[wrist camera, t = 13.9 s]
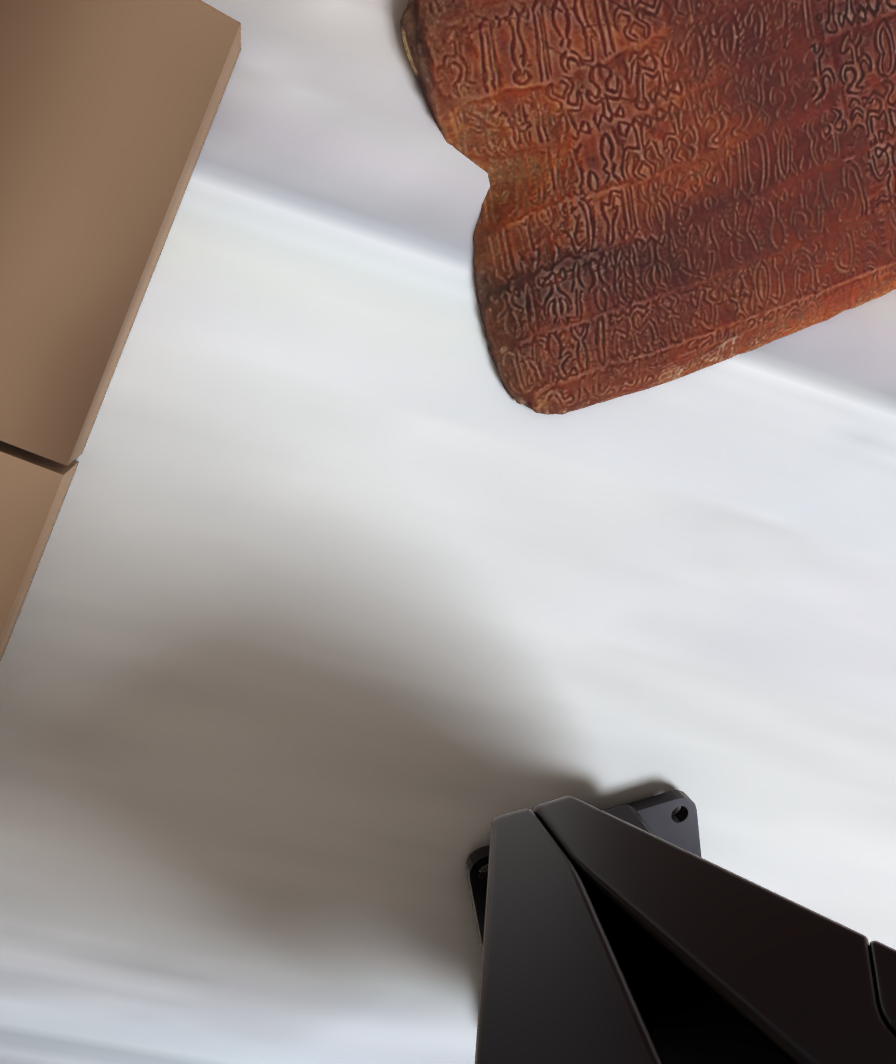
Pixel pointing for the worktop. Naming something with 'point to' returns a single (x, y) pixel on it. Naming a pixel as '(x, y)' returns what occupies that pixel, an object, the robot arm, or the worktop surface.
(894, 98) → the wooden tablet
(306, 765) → the worktop surface
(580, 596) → the worktop surface
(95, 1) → the weathered wooden board
